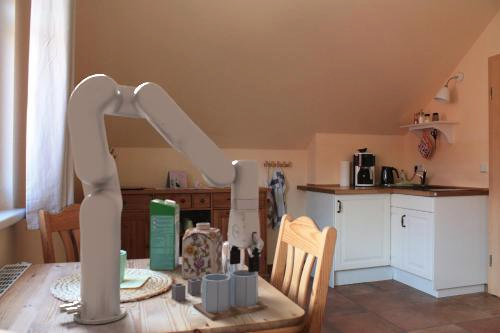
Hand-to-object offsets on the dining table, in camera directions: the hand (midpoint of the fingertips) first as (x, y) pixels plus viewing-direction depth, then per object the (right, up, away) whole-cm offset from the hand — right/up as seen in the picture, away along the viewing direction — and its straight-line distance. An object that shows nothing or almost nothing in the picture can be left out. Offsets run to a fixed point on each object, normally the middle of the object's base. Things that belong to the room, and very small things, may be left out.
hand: (244, 267), depth 115 cm
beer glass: (-4, -10, +11) cm, 16 cm away
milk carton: (-30, -10, +42) cm, 53 cm away
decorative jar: (-15, -10, +30) cm, 35 cm away
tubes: (-4, -10, -2) cm, 11 cm away
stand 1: (-19, -10, +5) cm, 22 cm away
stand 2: (-15, -10, +10) cm, 21 cm away
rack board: (-4, -10, -2) cm, 11 cm away
